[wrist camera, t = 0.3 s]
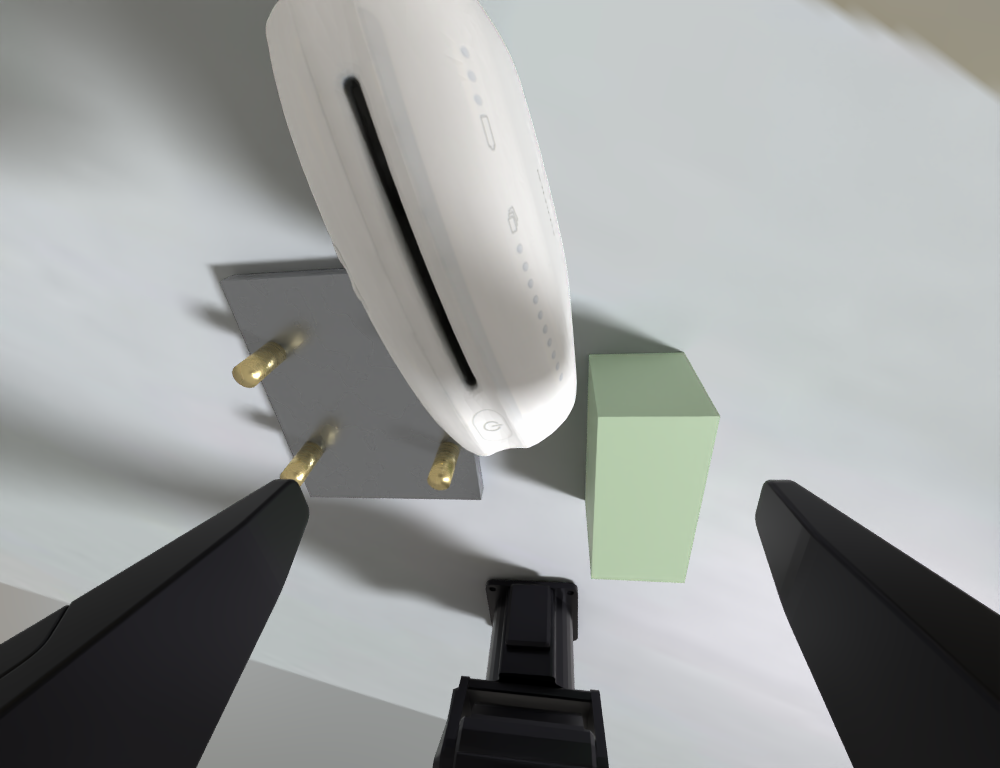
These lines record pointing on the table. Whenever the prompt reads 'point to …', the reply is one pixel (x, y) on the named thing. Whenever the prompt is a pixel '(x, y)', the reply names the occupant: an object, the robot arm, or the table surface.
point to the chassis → (342, 393)
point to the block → (645, 464)
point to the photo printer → (435, 204)
